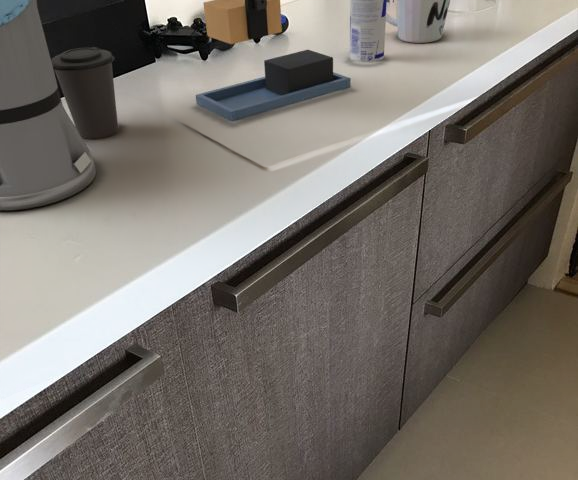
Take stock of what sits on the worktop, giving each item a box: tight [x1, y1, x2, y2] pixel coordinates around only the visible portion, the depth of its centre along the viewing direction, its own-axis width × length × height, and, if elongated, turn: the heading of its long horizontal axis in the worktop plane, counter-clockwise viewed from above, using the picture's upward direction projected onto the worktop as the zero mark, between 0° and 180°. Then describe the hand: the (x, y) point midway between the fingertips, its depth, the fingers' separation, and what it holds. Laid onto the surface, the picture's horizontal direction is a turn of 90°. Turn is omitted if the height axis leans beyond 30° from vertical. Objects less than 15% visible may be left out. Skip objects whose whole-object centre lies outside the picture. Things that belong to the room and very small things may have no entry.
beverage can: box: [349, 0, 388, 63], centre depth 104 cm, size 6×6×15 cm
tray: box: [195, 71, 352, 122], centre depth 96 cm, size 21×10×2 cm, turn 126°
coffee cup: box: [51, 46, 119, 140], centre depth 86 cm, size 8×8×10 cm
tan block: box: [202, 0, 283, 45], centre depth 87 cm, size 8×6×4 cm
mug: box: [386, 0, 451, 44], centre depth 116 cm, size 10×15×10 cm
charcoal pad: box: [263, 49, 334, 96], centre depth 97 cm, size 8×6×4 cm
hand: (244, 32), depth 88 cm, fingers closed on tan block, 6 cm apart
